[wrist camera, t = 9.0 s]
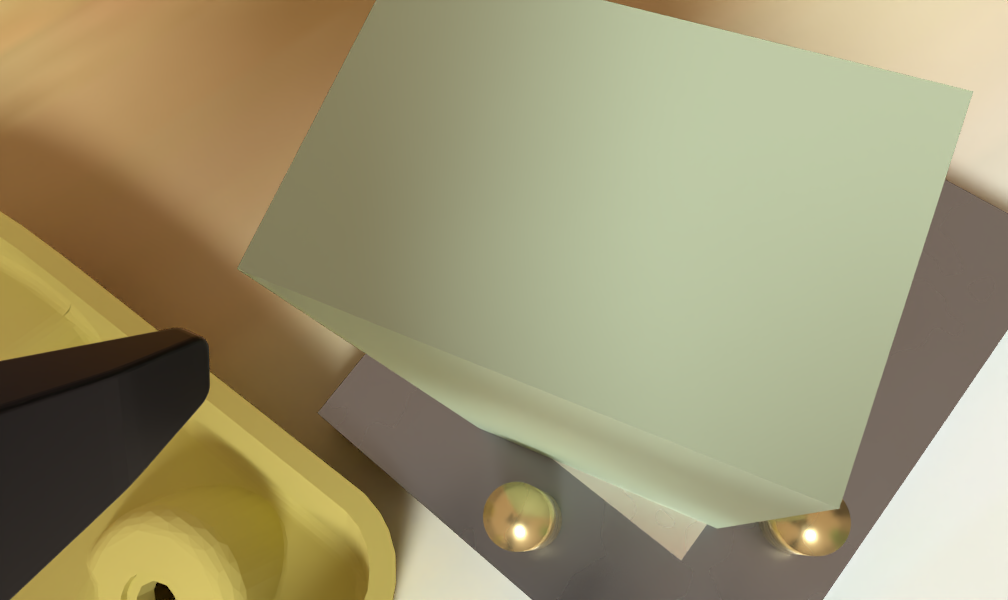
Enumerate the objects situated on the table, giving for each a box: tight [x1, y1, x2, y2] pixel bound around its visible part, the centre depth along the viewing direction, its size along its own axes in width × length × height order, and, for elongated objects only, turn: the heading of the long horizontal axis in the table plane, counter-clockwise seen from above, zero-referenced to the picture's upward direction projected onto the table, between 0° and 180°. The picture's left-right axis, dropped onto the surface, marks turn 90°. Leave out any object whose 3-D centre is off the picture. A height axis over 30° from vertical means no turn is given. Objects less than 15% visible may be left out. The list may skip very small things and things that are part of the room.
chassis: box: [318, 180, 1008, 600], centre depth 19 cm, size 14×12×4 cm
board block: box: [237, 0, 973, 528], centre depth 13 cm, size 4×6×12 cm, turn 67°
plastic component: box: [0, 211, 396, 600], centre depth 20 cm, size 20×7×10 cm
